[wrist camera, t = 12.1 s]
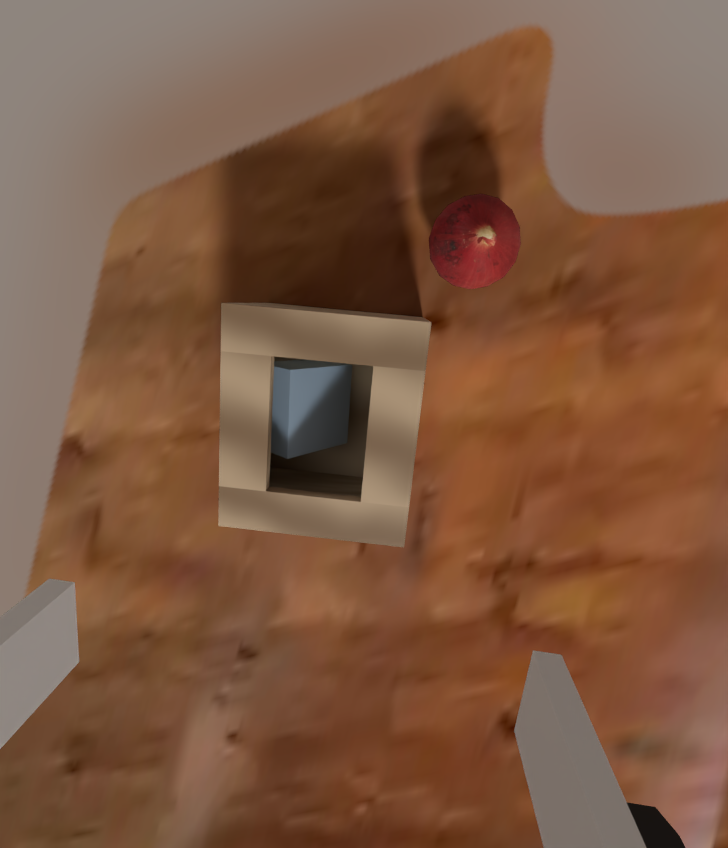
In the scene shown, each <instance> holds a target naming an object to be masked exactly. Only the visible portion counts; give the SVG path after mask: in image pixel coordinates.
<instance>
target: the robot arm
mask: <svg viewBox="0 0 728 848" xmlns="http://www.w3.org/2000/svg"><path fill="white" fill-rule="evenodd" d="M78 663H79V653H78V634H77V616H76V598H75V582H68V581H62V580H55V579H48V580H47V581H46V582H44V583H43V584H42V585H41V586H39V587H38V588H37V589H35V590H34V591H33V592H32V593H30V594H29V595H28V596H26V597H25V598H24V599H23V600H21V601H20V602H19V603H17V604H16V605H15V606H14V607H12V608H11V609H10V610H9V611H7V612H6V613H5V614H3V615H2V616H1V617H0V749H1V747H2V746H3V745H4V744H5V743H6V742H7V741H8V740H9V739H10V738H11V736H12V735H13V734H14V733H15V732H16V731H17V730H18V729H19V728H20V727H21V725H22V724H23V723H24V722H25V721H26V720H27V719H28V718H29V717H30V715H31V714H32V713H33V712H34V711H35V710H36V709H37V708H38V707H39V706H40V704H41V703H42V702H43V701H44V700H45V699H46V698H47V697H48V696H49V695H50V693H51V692H52V691H53V690H54V689H55V688H56V687H57V686H58V685H59V683H60V682H61V681H62V680H63V679H64V678H65V677H66V676H67V675H68V674H69V672H70V671H71V670H72V669H73V668H74V667H75V666H76V665H77V664H78ZM514 732H515V736H516V740H517V744H518V747H519V751H520V755H521V759H522V763H523V767H524V771H525V775H526V779H527V783H528V787H529V791H530V795H531V799H532V803H533V807H534V811H535V815H536V819H537V822H538V826H539V830H540V834H541V838H542V842H543V846H544V848H685V846H684V844H683V842H682V840H681V838H680V836H679V835H678V834H677V832H676V831H675V830H674V829H673V828H672V827H671V825H670V824H669V823H668V822H667V821H666V819H665V818H664V817H663V816H662V815H661V813H660V812H659V811H658V810H657V809H656V807H651V806H645V805H639V804H633V803H627V802H626V800H625V798H624V796H623V793H622V791H621V789H620V787H619V784H618V782H617V780H616V778H615V775H614V773H613V771H612V769H611V766H610V764H609V762H608V759H607V757H606V755H605V753H604V750H603V748H602V746H601V744H600V741H599V739H598V737H597V735H596V732H595V730H594V728H593V725H592V723H591V721H590V719H589V716H588V714H587V712H586V710H585V707H584V705H583V703H582V701H581V698H580V696H579V694H578V691H577V689H576V687H575V685H574V682H573V680H572V678H571V676H570V673H569V671H568V669H567V667H566V664H565V662H564V660H563V657H562V655H559V654H553V653H546V652H539V651H533V653H532V657H531V661H530V666H529V670H528V674H527V678H526V683H525V687H524V691H523V696H522V700H521V704H520V708H519V713H518V717H517V721H516V725H515V730H514Z"/></svg>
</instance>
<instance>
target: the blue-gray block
mask: <svg viewBox="0 0 728 848" xmlns="http://www.w3.org/2000/svg"><path fill="white" fill-rule="evenodd" d="M351 377H352V365H351V364H346V363H337V362H327V361H316V360H306V359H302V360H287V361H274V381H273V405H272V429H271V453H273V454H276V455H279V456H281V457H284V458H286V459H289V458H293V457H297V456H300V455H304V454H308V453H311V452H315V451H319V450H323V449H326V448H330V447H334V446H338V445H341V444H345V443H347V438H348V423H349V407H350V392H351Z"/></svg>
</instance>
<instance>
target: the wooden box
mask: <svg viewBox="0 0 728 848" xmlns="http://www.w3.org/2000/svg"><path fill="white" fill-rule="evenodd" d="M430 329H431V322H430V321H428V320H427V319H425V318H423V317H416V316H405V315H395V314H384V313H373V312H362V311H351V310H341V309H330V308H319V307H308V306H297V305H286V304H276V303H221V368H220V447H219V526H224V527H233V528H241V529H250V530H259V531H267V532H276V533H285V534H293V535H302V536H311V537H319V538H328V539H336V540H345V541H354V542H362V543H371V544H380V545H388V546H397V547H404V543H405V535H406V527H407V519H408V510H409V502H410V494H411V486H412V477H413V469H414V461H415V453H416V444H417V436H418V428H419V420H420V411H421V403H422V395H423V387H424V379H425V370H426V362H427V354H428V346H429V337H430ZM302 359H306V360H316V361H327V362H337V363H346V364H351V365H352V377H351V392H350V407H349V423H348V438H347V443H345V444H341V445H338V446H334V447H330V448H326V449H323V450H319V451H315V452H311V453H308V454H304V455H300V456H297V457H293V458H289V459H286V458H284V457H281V456H279V455H276V454H273V453H271V429H272V405H273V381H274V361H287V360H302Z"/></svg>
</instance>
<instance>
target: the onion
mask: <svg viewBox="0 0 728 848" xmlns="http://www.w3.org/2000/svg"><path fill="white" fill-rule="evenodd" d="M520 245H521V242H520V226H519V224H518V222H517V220H516V217H515V215H514V213H513V211H512V209H510V208H509V207H508V206H507V205H506V204H505V203H504V202H502V201H501V200H500V199H499V198H496V197H492V196H488V195H485V194H476V195H469V196H464V197H462V198H461V199H459V200H457V201H455V202H453V203H451V204H449V205H448V206H447V207H446V208H445V209H444V210H443V212H442V213H441V214H440V215H439V216H438V217H437V219H436V220H435V223H434V226H433V228H432V231H431V234H430V237H429V248H430V259H431V261H432V263H433V265H434V266H435V268H436V270H437V272H438V274H439V276H441V277H442V278H444V279H445V280H447V281H448V282H449V283H451V284H452V285H454V286H458V287H463V288H467V289H474V288H480V287H486V286H489V285H490V284H492V283H494V282H496V281H498V280H499V279H501V278H503V277H504V276H505V275H506V274H507V272H508V271H509V270H510V268H511V267H512V266H513V264H514V263H515V261H516V258H517V255H518V251H519V248H520Z"/></svg>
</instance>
